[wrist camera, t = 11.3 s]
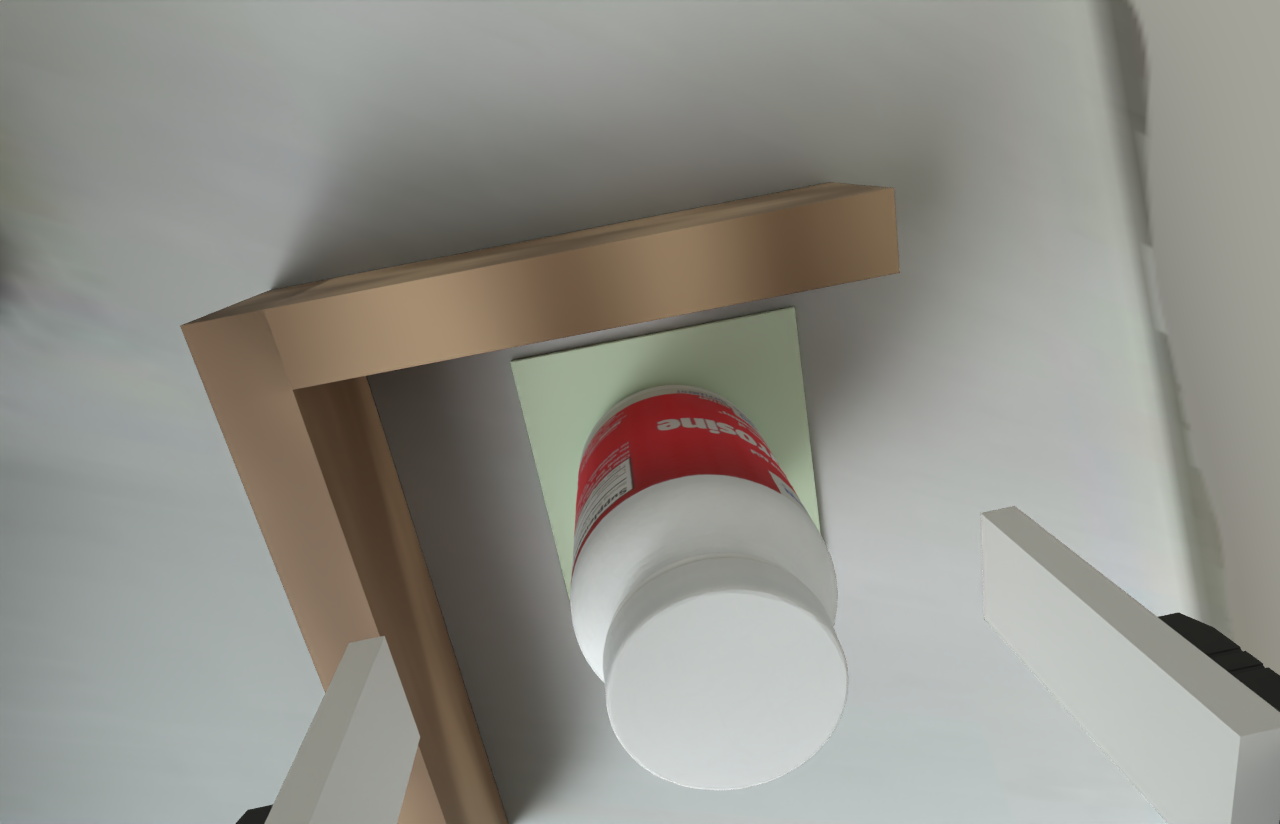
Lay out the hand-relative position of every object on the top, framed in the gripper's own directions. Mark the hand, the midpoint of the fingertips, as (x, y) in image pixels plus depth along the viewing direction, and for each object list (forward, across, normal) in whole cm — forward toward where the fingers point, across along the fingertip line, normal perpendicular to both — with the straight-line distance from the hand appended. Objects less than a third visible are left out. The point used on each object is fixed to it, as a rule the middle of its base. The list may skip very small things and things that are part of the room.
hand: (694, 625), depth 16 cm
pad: (+9, +1, 0) cm, 9 cm away
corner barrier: (+9, -2, -3) cm, 10 cm away
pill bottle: (+9, +1, 0) cm, 9 cm away
